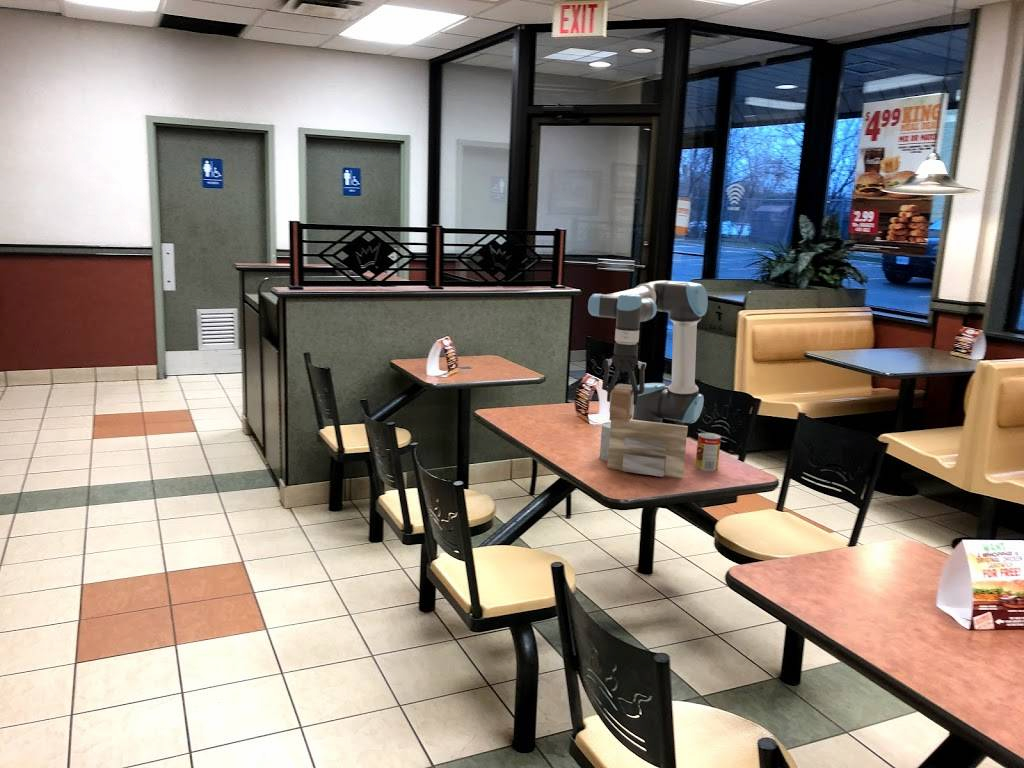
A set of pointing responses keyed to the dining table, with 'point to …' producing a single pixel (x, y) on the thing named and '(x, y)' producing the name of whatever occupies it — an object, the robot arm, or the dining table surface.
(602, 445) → the grey-green block
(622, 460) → the wall board
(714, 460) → the canned food
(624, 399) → the upright wooden block
